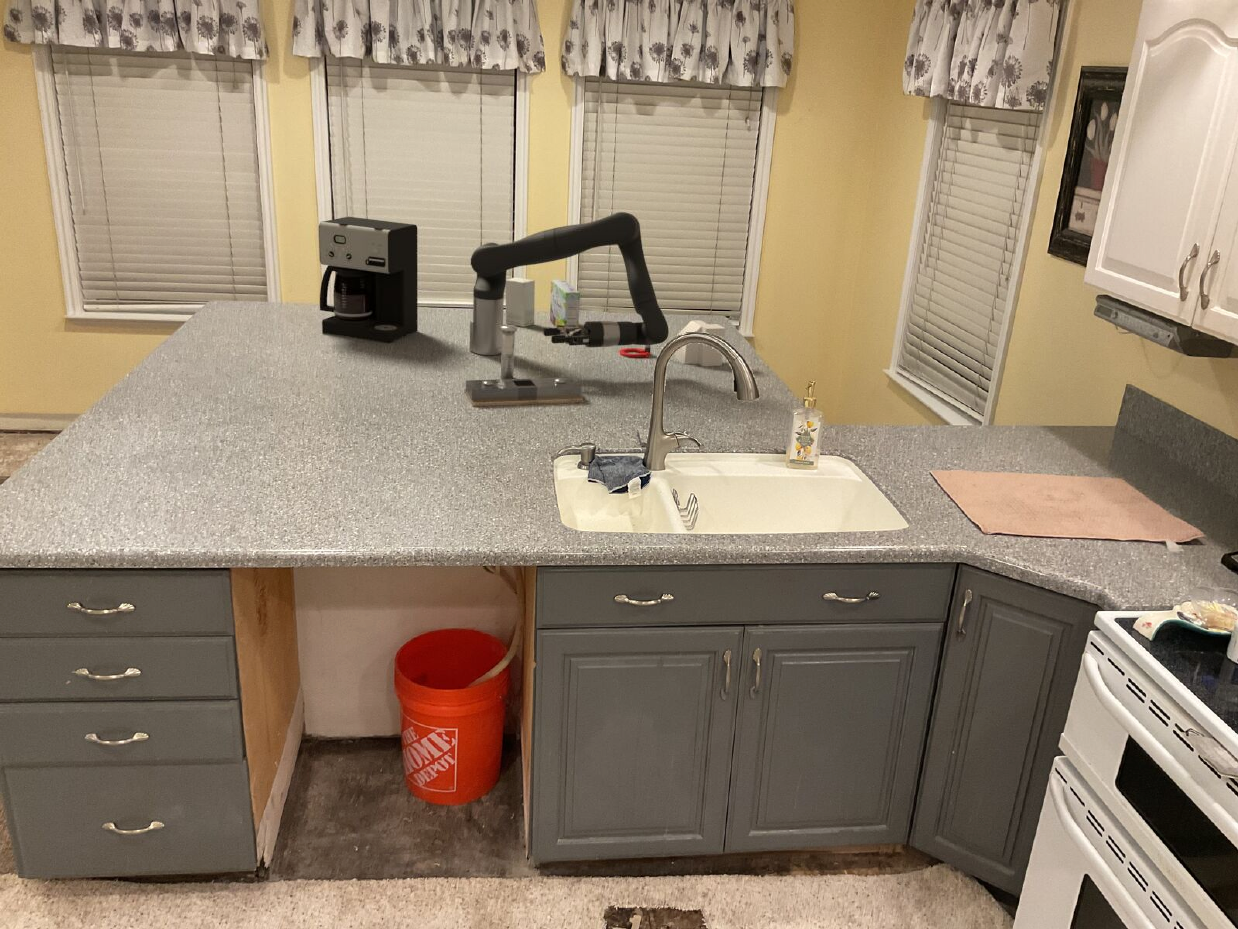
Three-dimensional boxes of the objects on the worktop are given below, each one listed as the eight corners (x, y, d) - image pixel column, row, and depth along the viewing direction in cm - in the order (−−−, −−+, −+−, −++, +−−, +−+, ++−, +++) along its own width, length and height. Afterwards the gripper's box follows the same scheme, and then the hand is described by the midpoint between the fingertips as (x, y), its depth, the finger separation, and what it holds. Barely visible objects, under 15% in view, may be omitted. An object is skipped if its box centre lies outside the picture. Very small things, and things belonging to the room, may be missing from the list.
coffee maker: (309, 331, 323) (305, 220, 310) (342, 319, 340) (339, 213, 328) (388, 343, 316) (387, 230, 303) (418, 331, 333) (417, 223, 321)
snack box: (548, 321, 360) (550, 278, 354) (563, 321, 361) (565, 279, 356) (563, 336, 341) (565, 291, 336) (579, 336, 343) (581, 291, 337)
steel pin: (495, 378, 289) (497, 327, 284) (503, 374, 293) (504, 323, 288) (510, 381, 288) (512, 329, 282) (518, 377, 292) (520, 326, 286)
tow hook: (618, 358, 321) (649, 359, 321) (619, 314, 316) (651, 316, 316) (619, 351, 330) (650, 352, 329) (620, 309, 325) (652, 310, 324)
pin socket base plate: (473, 406, 264) (473, 389, 263) (464, 392, 275) (464, 376, 273) (582, 402, 274) (583, 385, 272) (570, 388, 285) (571, 373, 283)
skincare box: (534, 324, 353) (536, 280, 347) (523, 327, 348) (524, 282, 342) (515, 320, 357) (517, 276, 351) (503, 323, 352) (505, 278, 346)
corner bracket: (721, 365, 320) (725, 328, 316) (688, 366, 316) (692, 329, 312) (706, 356, 329) (710, 320, 325) (674, 357, 325) (678, 320, 321)
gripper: (594, 315, 300) (541, 317, 295) (609, 327, 287) (554, 328, 282) (593, 340, 303) (540, 342, 297) (608, 352, 290) (554, 354, 285)
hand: (547, 335), depth 290 cm, fingers open, 8 cm apart
